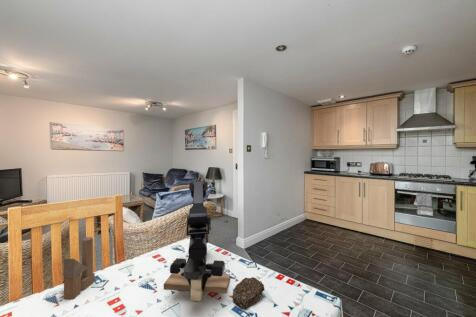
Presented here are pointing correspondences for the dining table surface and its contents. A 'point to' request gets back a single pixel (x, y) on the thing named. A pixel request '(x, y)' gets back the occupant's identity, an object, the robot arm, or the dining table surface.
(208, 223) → the robot arm
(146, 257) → the dining table surface
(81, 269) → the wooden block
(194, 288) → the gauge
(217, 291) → the board
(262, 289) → the brown rock
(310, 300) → the dining table surface
